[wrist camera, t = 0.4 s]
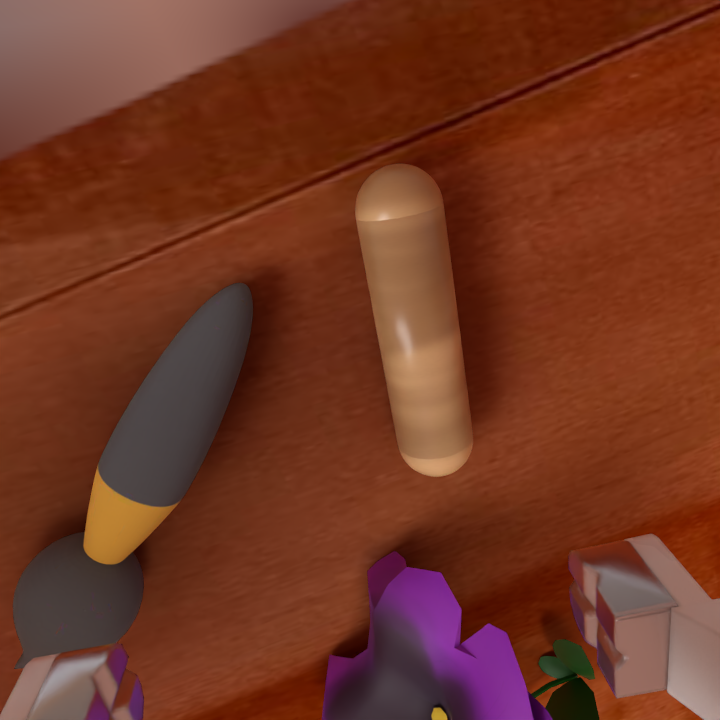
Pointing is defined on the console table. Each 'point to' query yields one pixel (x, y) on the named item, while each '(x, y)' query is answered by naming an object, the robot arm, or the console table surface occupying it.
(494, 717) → the flower
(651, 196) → the console table surface
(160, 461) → the paintbrush
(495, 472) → the console table surface
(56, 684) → the robot arm
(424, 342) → the stick
